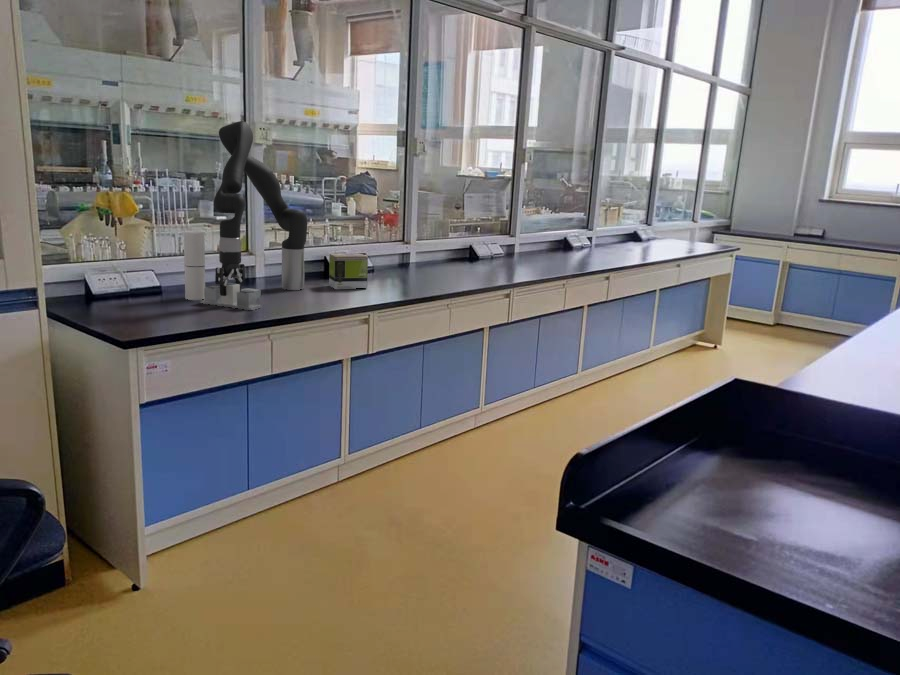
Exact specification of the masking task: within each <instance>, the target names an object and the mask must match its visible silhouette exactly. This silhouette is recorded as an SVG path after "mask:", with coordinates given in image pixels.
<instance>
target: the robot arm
mask: <svg viewBox="0 0 900 675" xmlns="http://www.w3.org/2000/svg"><path fill="white" fill-rule="evenodd" d="M218 137H219V139H220V141H221V143H222V146H223V148H225V150H227V152H228V153H229V154H230V157H229V159H228V160H227V162H226V164H225V165H224V168H223V172H222V177H221V178H222V179H221V184H220V186H219V188H218V190H217V191H216V192H217V193H216V194H215V196H214V199H213V206H214V209H215V211H216V212H218V213H221V214H233V215H234V216H232V218H231V219H224V220H221V221H220V222H219V241H218V245H219V246H218V247H219V249H218V250H219V251H218V254H219V256H218V258H219V260H218V261H219V262H220V264H221V267H218V266H217V267H215V275H214V276H215V278H214V282H215V284H216V285H217V286H220V295H221V296H226V295H227V289H226V284H227V283H229V282H230V280H231V279H233V280H234V281H235V282H234V283H236V284H240V291H241V289H242V282H243V281H246V280H245V279H246V270H245V269H246V268H245V264H244V263H241V262H242V241H241V224H242V218H243V215H244V211H245V207H246V198H245V197H244V195H243V194H241V193H240V192H241V191H242V188H243V182H244V181H243V180H244V174H246V176H247V177H248V179H249V181H250V182H251V183H252V185H253V187H254V188H255V190H256V191H257V192H258V194H259V195H260V196H261V198H262V199H263V200H264V203H265V204H266V205H267V206H268V208H269V210H270V212H272V215H273V216H274V219H275V220H276V223H277V224H278V226H279V227H280V228H281V229H282V230H283V231H285V232H288V237H287V238H286V239H284V240H282V242H281V289H282V290H286V289H287V291H300V289H302V290H304V289H303V288H305V273H306V272H305V245H306V242H307V234H308V218H307V214H305V212H304V211H302V210H300V209H299V210H298V209H294V208H293V209H292V208H290V207H289V206H288V204H287V203H286V202H285V200H284V198H283V197H282V191H281V184H280V181H279V179H278V178H277V176H276V174H275V173H274V172H273V170H272V169H271V167H269V166H268V165H267V164H265V163H263V162H262V161H260V160H259V159H257V158H255V157H253V156H252V155H250V151H251V149H252V145H253V140H254V133H253V130H252V128H251V125H249V124H248V123H247V122H246V121H244V120H243V121H242V120H240V121H236V122H233V123H230V124H226V125H224V126H221V127H220V128H219V130H218Z"/></svg>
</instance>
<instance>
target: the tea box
mask: <svg viewBox="0 0 900 675" xmlns="http://www.w3.org/2000/svg"><path fill="white" fill-rule="evenodd" d="M328 258H329V259H328V260H329V261H328V262H329V265H328V266H329V267H328V272H329V274H328V279H329V280H328V282H329V284H328V285H329V287H331V288H332V287H333V288H334V289H333V288H332V289H333V290H357V289H356V288H367V289H368V271H369V270H368V268H369V267H368V264H369V259H368V258H369V256H368V255H365V254H362V253H329V256H328Z"/></svg>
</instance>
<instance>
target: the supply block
mask: <svg viewBox="0 0 900 675" xmlns="http://www.w3.org/2000/svg"><path fill="white" fill-rule="evenodd" d="M243 290H249V291H255V292H257V300H258V298H259V299H261V295H262V294H261V293H262V292H261V291H262V290H261V289H256V288H250V287H249V288H248V287H245V288H241V291H243Z"/></svg>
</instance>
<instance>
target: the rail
mask: <svg viewBox="0 0 900 675" xmlns="http://www.w3.org/2000/svg"><path fill="white" fill-rule="evenodd" d="M204 297H205V299H204V300H199V303H200V304H202V303H203V304H202V305H208V304H210V306H215V305H217V307H222V306H224V307H223V308H228V307H232V308H231V309H235V308H238V309H237V310H242V309H244V310H243V311H248V310H253V311H256V310H255V309H257V310H259V309H258V308H260V309H262V305H260V304H258V299H257V292H255V291H249V290H243V291H239V292H237V304H234V305H231V304H224V303H222V300H221V295H220V285H209V286H205V287H204Z"/></svg>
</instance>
